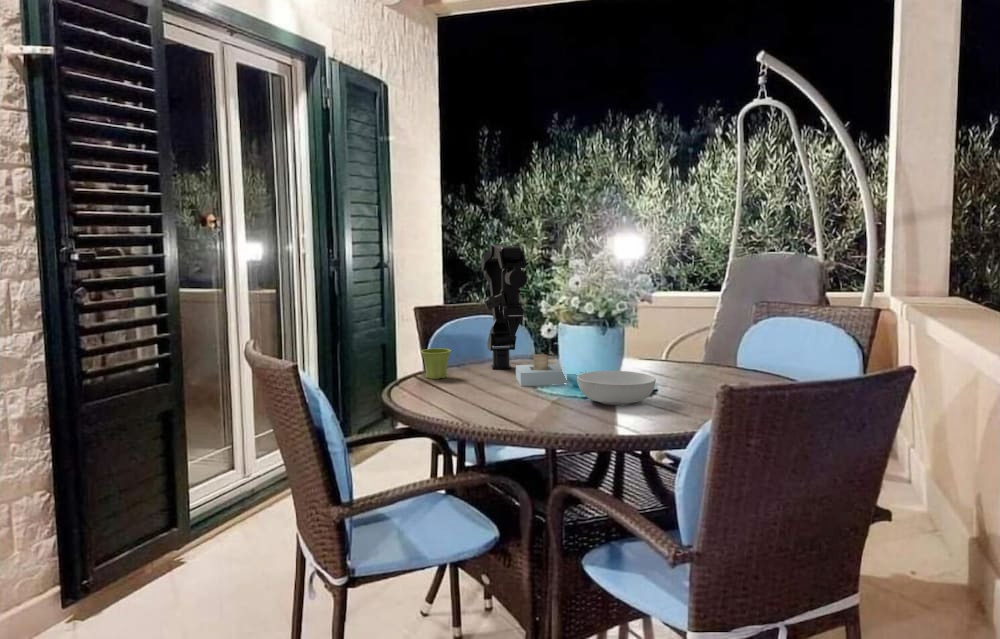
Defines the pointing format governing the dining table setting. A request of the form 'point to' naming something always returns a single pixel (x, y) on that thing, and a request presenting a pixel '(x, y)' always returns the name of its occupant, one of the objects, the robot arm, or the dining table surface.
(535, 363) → the birch peg
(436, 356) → the plant pot
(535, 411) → the dining table surface
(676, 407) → the dining table surface
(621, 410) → the dining table surface
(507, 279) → the robot arm
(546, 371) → the socket block
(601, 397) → the serving bowl
